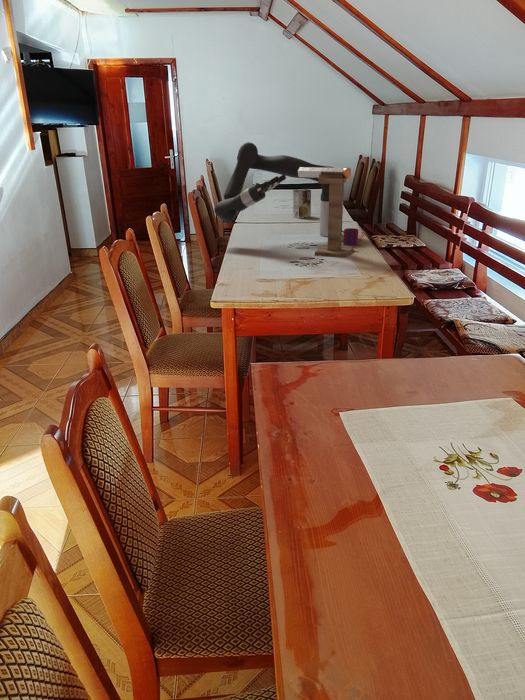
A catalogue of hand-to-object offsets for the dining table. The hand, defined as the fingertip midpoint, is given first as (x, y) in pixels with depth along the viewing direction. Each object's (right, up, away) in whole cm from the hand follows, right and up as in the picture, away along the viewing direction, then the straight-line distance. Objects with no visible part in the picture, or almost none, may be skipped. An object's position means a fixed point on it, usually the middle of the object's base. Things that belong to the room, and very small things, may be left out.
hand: (281, 177), depth 235 cm
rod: (+18, -2, -6) cm, 19 cm away
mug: (+32, -25, +21) cm, 46 cm away
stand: (+24, -32, +4) cm, 40 cm away
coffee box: (+16, +5, +92) cm, 94 cm away
